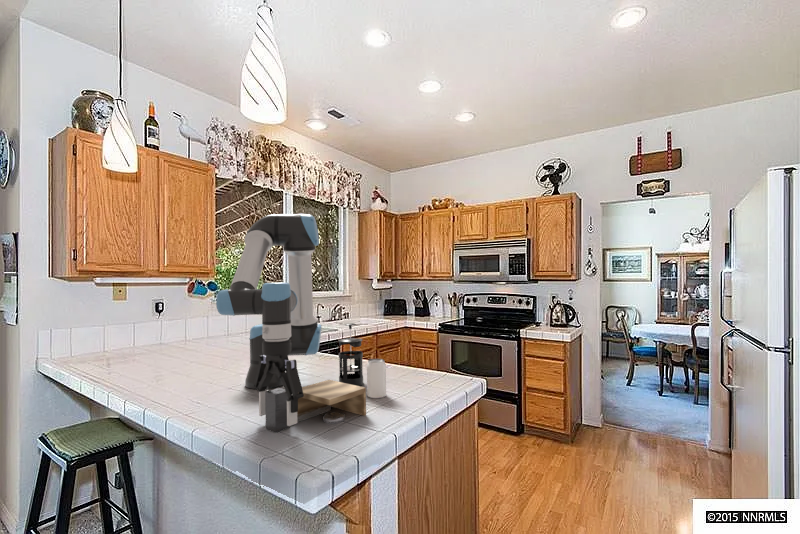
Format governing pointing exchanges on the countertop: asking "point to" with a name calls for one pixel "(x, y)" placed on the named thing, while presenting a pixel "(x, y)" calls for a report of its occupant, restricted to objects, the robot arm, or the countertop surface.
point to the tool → (284, 410)
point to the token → (334, 417)
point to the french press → (354, 377)
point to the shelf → (333, 397)
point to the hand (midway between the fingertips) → (277, 419)
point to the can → (376, 378)
